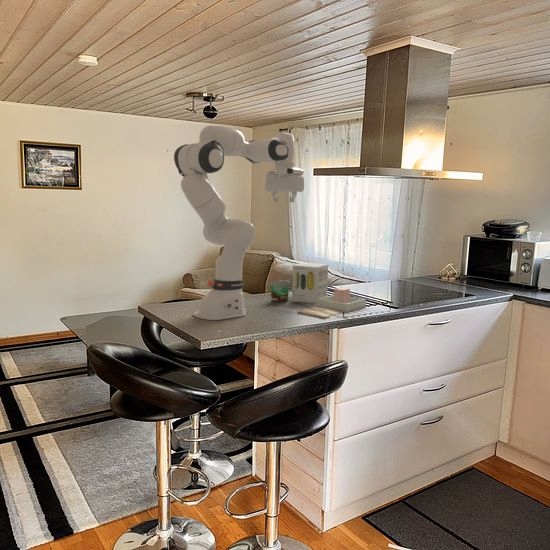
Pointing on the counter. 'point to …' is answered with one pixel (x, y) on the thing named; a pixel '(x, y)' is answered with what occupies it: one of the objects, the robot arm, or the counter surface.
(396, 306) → the counter surface
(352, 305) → the bin
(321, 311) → the pad
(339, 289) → the block
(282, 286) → the food container
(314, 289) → the supplement box
